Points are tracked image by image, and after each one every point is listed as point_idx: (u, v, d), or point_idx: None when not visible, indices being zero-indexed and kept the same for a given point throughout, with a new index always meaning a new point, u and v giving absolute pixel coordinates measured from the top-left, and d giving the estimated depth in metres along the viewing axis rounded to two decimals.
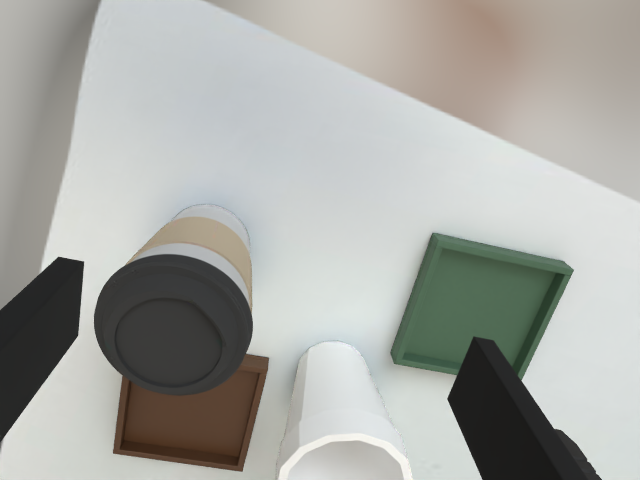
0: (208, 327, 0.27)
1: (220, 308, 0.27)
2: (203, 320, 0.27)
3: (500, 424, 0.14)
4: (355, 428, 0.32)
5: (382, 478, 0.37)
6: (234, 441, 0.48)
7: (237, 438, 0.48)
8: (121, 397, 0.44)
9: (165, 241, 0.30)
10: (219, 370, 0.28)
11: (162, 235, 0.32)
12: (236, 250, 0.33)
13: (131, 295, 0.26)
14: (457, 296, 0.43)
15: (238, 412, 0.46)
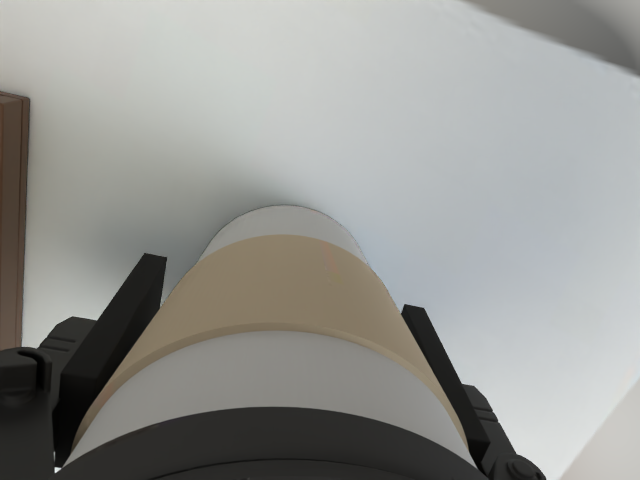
0: None
1: None
2: None
3: None
4: None
5: None
6: None
7: None
8: None
9: None
10: None
11: None
12: None
13: None
14: None
15: None
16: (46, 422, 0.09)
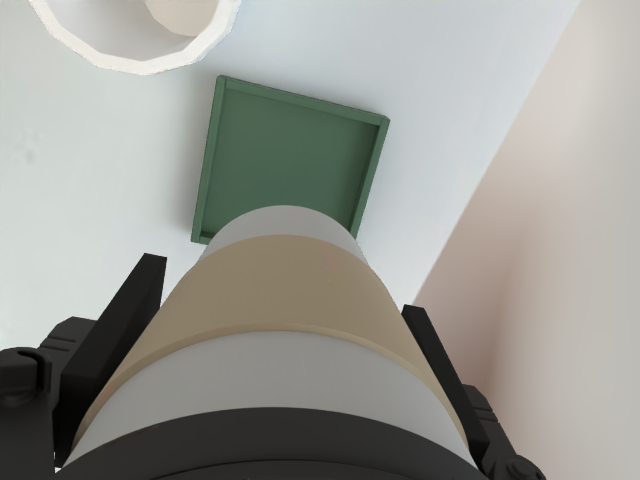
0: None
1: None
2: None
3: None
4: None
5: (106, 37, 0.24)
6: None
7: None
8: None
9: None
10: None
11: None
12: None
13: None
14: (307, 153, 0.36)
15: None
16: (46, 422, 0.09)
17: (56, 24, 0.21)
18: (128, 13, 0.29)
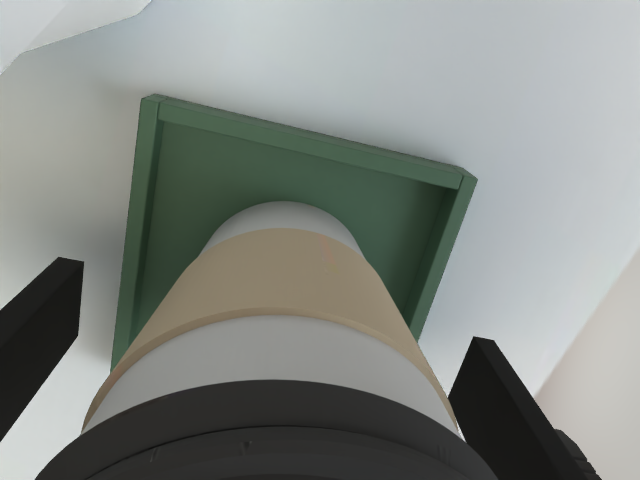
0: None
1: None
2: None
3: (500, 424, 0.14)
4: None
5: None
6: None
7: None
8: None
9: None
10: None
11: None
12: None
13: None
14: None
15: None
16: None
17: None
18: None
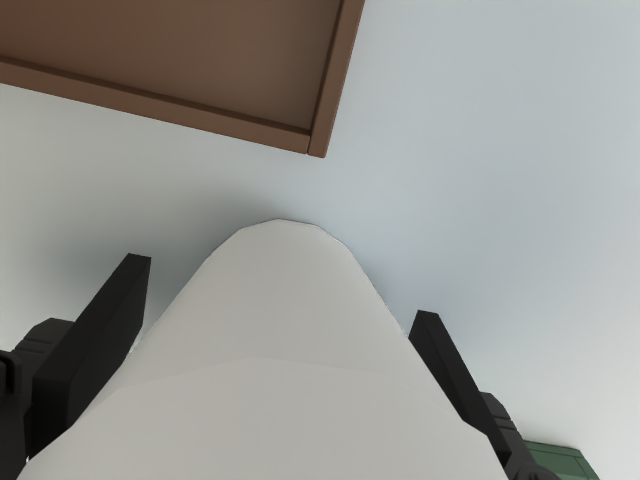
0: None
1: None
2: None
3: None
4: None
5: None
6: (15, 33, 0.15)
7: (30, 44, 0.15)
8: None
9: None
10: None
11: None
12: None
13: None
14: None
15: (136, 53, 0.15)
16: (17, 426, 0.09)
17: None
18: None
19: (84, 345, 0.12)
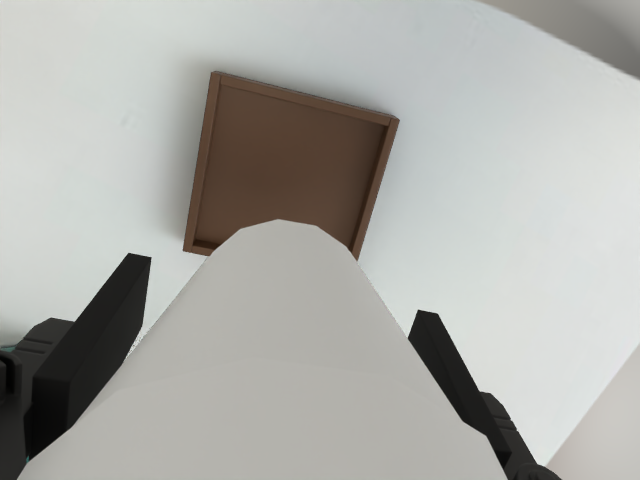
0: None
1: None
2: None
3: None
4: None
5: None
6: (222, 234, 0.35)
7: (227, 238, 0.35)
8: (315, 101, 0.31)
9: None
10: None
11: None
12: None
13: None
14: None
15: None
16: (17, 426, 0.09)
17: None
18: None
19: (84, 345, 0.12)
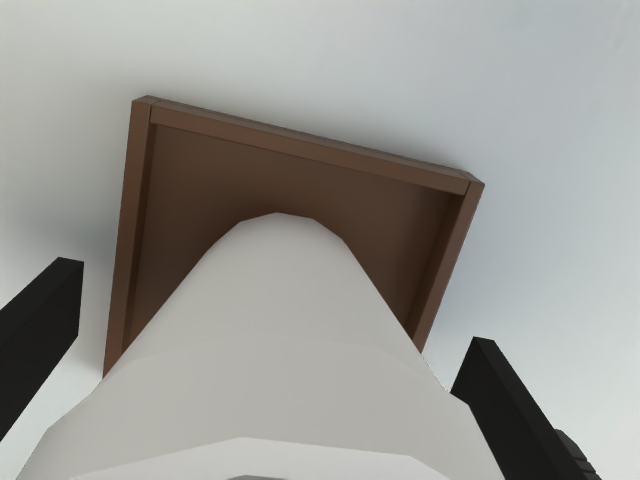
0: None
1: None
2: None
3: (500, 424, 0.14)
4: None
5: None
6: None
7: None
8: (332, 152, 0.17)
9: None
10: None
11: None
12: None
13: None
14: None
15: None
16: None
17: None
18: None
19: None
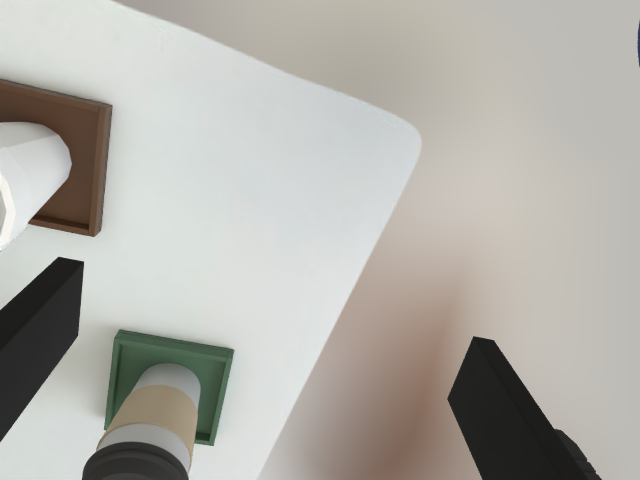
0: None
1: None
2: None
3: (500, 424, 0.14)
4: (17, 206, 0.33)
5: None
6: None
7: None
8: (37, 93, 0.41)
9: (189, 449, 0.45)
10: None
11: (189, 430, 0.47)
12: None
13: None
14: None
15: None
16: None
17: None
18: None
19: None
